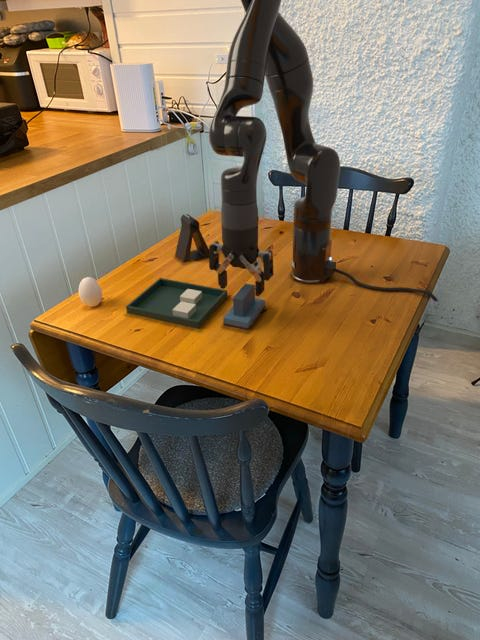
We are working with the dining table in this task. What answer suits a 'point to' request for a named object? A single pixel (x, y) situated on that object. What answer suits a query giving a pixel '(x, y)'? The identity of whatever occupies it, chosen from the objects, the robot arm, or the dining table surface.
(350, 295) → the dining table surface
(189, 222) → the dark grey a-frame stand
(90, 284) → the egg
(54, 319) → the dining table surface
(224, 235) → the robot arm
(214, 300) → the tray
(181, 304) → the cream slab tile
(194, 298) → the beige square tile
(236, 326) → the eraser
